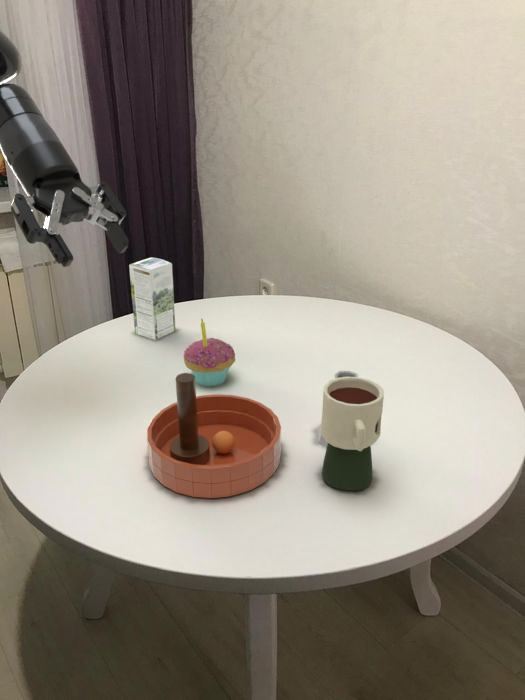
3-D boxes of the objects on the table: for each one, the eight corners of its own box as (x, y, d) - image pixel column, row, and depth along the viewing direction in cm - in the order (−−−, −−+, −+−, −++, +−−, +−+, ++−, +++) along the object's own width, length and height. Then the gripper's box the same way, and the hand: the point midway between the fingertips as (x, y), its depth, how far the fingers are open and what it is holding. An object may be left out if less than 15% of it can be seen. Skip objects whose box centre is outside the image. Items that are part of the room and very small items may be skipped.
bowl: (149, 509, 70) (145, 474, 67) (150, 429, 85) (147, 399, 83) (291, 493, 72) (292, 460, 70) (268, 419, 87) (268, 389, 85)
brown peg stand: (170, 471, 75) (163, 389, 70) (170, 447, 80) (164, 368, 75) (210, 468, 76) (207, 386, 71) (209, 444, 80) (205, 366, 75)
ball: (223, 446, 81) (225, 461, 78) (206, 436, 79) (208, 451, 77) (238, 433, 80) (240, 447, 77) (221, 422, 78) (223, 437, 76)
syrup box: (155, 325, 119) (149, 255, 113) (177, 332, 116) (172, 261, 110) (134, 334, 115) (127, 263, 109) (156, 342, 112) (150, 269, 106)
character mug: (385, 507, 70) (396, 413, 64) (325, 510, 69) (331, 416, 64) (364, 453, 80) (372, 367, 74) (312, 455, 79) (316, 369, 74)
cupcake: (224, 396, 93) (221, 327, 88) (175, 388, 96) (170, 320, 91) (242, 372, 101) (241, 307, 95) (197, 365, 103) (194, 301, 98)
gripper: (-8, 143, 72) (57, 251, 70) (92, 134, 82) (151, 229, 80) (-19, 182, 77) (41, 284, 76) (75, 170, 87) (130, 260, 85)
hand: (97, 256), depth 78 cm, fingers open, 8 cm apart
